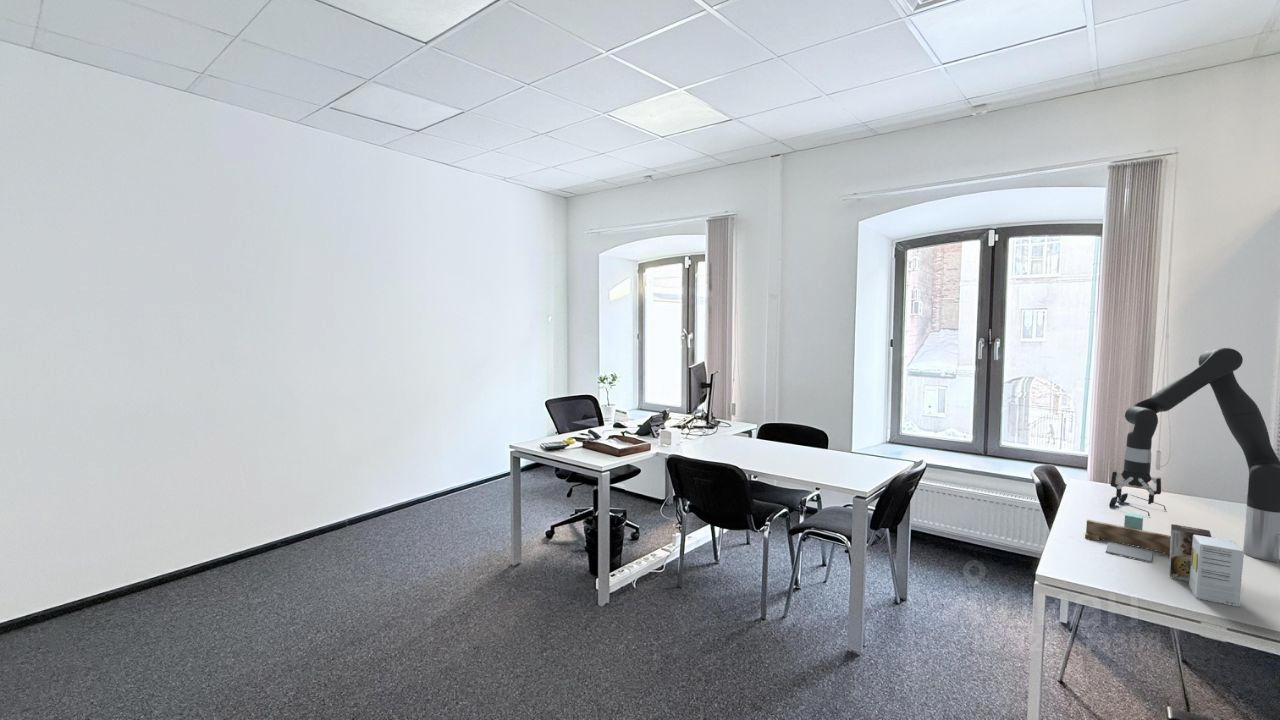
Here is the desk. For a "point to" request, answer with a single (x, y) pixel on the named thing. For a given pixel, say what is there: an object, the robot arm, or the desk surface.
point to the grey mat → (1129, 551)
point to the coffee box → (1182, 550)
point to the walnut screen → (1128, 536)
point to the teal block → (1133, 521)
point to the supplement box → (1216, 570)
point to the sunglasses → (1123, 499)
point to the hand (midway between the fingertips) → (1134, 501)
